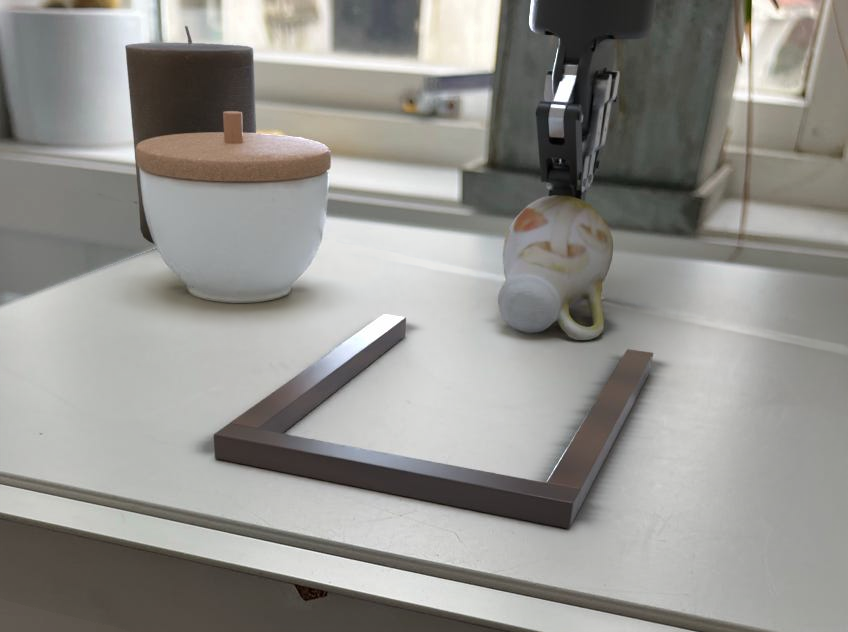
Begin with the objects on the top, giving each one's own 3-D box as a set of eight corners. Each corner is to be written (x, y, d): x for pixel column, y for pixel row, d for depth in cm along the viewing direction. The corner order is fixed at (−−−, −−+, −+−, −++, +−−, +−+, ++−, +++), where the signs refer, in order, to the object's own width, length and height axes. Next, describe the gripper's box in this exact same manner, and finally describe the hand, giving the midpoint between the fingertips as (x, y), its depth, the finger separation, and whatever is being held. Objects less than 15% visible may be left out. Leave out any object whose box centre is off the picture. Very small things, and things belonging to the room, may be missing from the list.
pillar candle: (210, 256, 78) (197, 31, 70) (116, 238, 82) (94, 23, 74) (283, 235, 85) (280, 27, 77) (193, 219, 89) (181, 20, 81)
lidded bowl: (362, 302, 69) (367, 121, 63) (187, 324, 63) (173, 128, 57) (282, 260, 78) (279, 99, 72) (123, 277, 72) (105, 103, 66)
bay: (383, 333, 63) (383, 313, 62) (649, 373, 58) (653, 352, 57) (214, 458, 46) (212, 434, 46) (569, 529, 41) (573, 503, 41)
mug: (465, 338, 63) (471, 175, 63) (519, 369, 72) (525, 225, 71) (582, 326, 60) (589, 153, 59) (624, 360, 68) (631, 209, 68)
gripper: (645, -58, 54) (593, 277, 63) (681, -53, 64) (632, 235, 74) (509, -63, 56) (479, 261, 66) (565, -57, 66) (532, 223, 76)
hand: (560, 247), depth 70 cm, fingers closed
